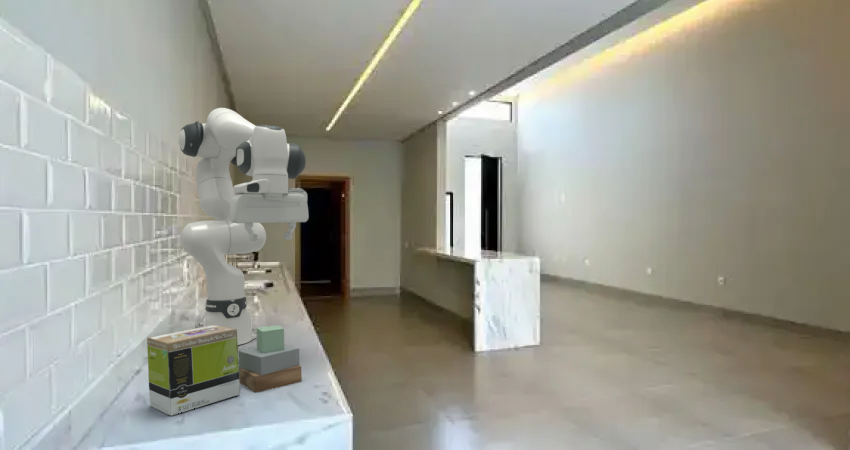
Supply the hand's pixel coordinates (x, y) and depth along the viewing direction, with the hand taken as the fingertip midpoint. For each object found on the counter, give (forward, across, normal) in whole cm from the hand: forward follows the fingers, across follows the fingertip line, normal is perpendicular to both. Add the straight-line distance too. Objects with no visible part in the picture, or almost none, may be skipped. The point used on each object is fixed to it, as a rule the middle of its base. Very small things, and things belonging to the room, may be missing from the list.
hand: (271, 240), depth 130 cm
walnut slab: (+33, +6, +12) cm, 36 cm away
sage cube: (+25, +6, +12) cm, 28 cm away
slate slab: (+29, +6, +12) cm, 32 cm away
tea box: (+33, +23, +13) cm, 42 cm away
